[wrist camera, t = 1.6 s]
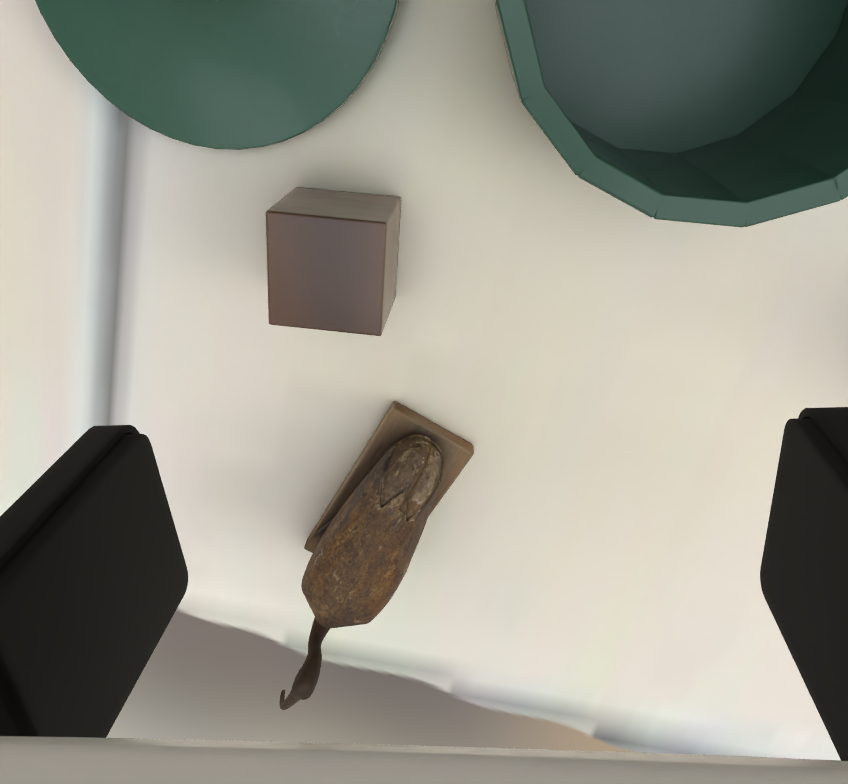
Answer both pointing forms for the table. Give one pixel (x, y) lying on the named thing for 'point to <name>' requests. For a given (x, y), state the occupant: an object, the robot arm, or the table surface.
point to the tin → (690, 100)
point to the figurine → (374, 528)
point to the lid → (223, 61)
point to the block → (332, 260)
